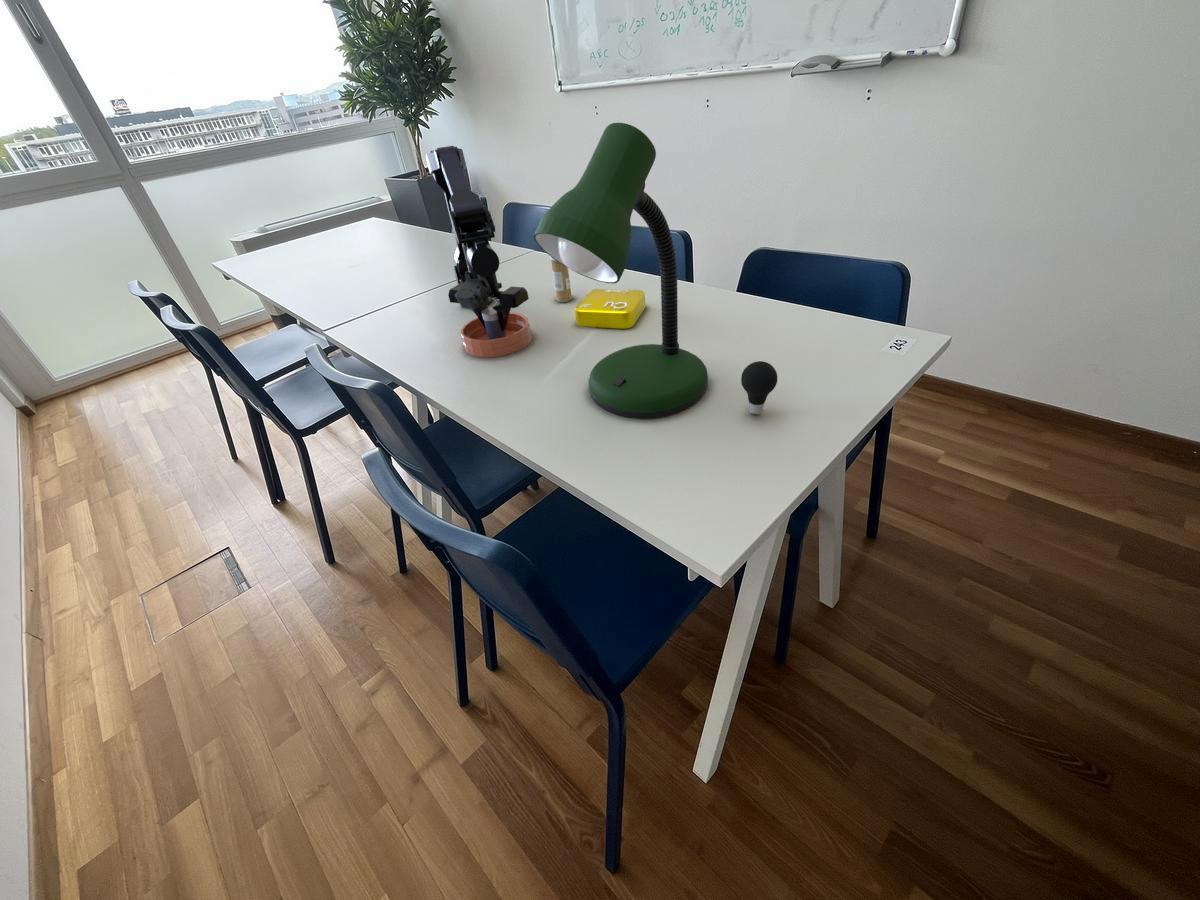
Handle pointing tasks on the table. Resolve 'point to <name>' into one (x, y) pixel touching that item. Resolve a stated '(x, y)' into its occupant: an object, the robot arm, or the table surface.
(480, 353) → the bowl
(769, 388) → the light bulb
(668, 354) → the desk lamp
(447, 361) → the table surface
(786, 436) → the table surface
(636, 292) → the element tile
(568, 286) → the sprinkles bottle
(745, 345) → the table surface
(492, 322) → the salt shaker
